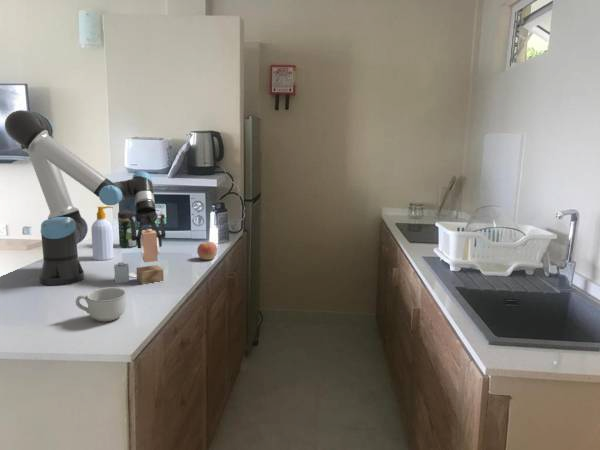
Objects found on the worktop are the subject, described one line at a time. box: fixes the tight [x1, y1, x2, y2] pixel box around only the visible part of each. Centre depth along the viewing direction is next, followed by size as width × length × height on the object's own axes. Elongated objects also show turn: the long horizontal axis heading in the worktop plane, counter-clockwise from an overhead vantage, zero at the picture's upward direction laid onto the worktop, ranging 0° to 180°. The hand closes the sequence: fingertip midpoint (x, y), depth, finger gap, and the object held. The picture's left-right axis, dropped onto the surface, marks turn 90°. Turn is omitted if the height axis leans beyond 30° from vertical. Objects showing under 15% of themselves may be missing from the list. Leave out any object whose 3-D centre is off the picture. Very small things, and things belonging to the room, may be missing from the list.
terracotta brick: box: [141, 228, 159, 263], centre depth 174 cm, size 5×5×12 cm
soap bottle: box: [90, 205, 114, 261], centre depth 206 cm, size 9×9×24 cm
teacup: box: [75, 287, 127, 323], centre depth 137 cm, size 14×11×8 cm
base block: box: [136, 264, 165, 286], centre depth 176 cm, size 8×8×5 cm
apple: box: [196, 241, 218, 261], centre depth 209 cm, size 9×9×8 cm
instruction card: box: [129, 271, 137, 278], centre depth 184 cm, size 8×6×1 cm
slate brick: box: [113, 261, 130, 284], centre depth 175 cm, size 5×5×7 cm
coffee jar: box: [117, 209, 137, 249], centre depth 232 cm, size 10×8×19 cm
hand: (150, 253), depth 171 cm, fingers closed on terracotta brick, 5 cm apart
